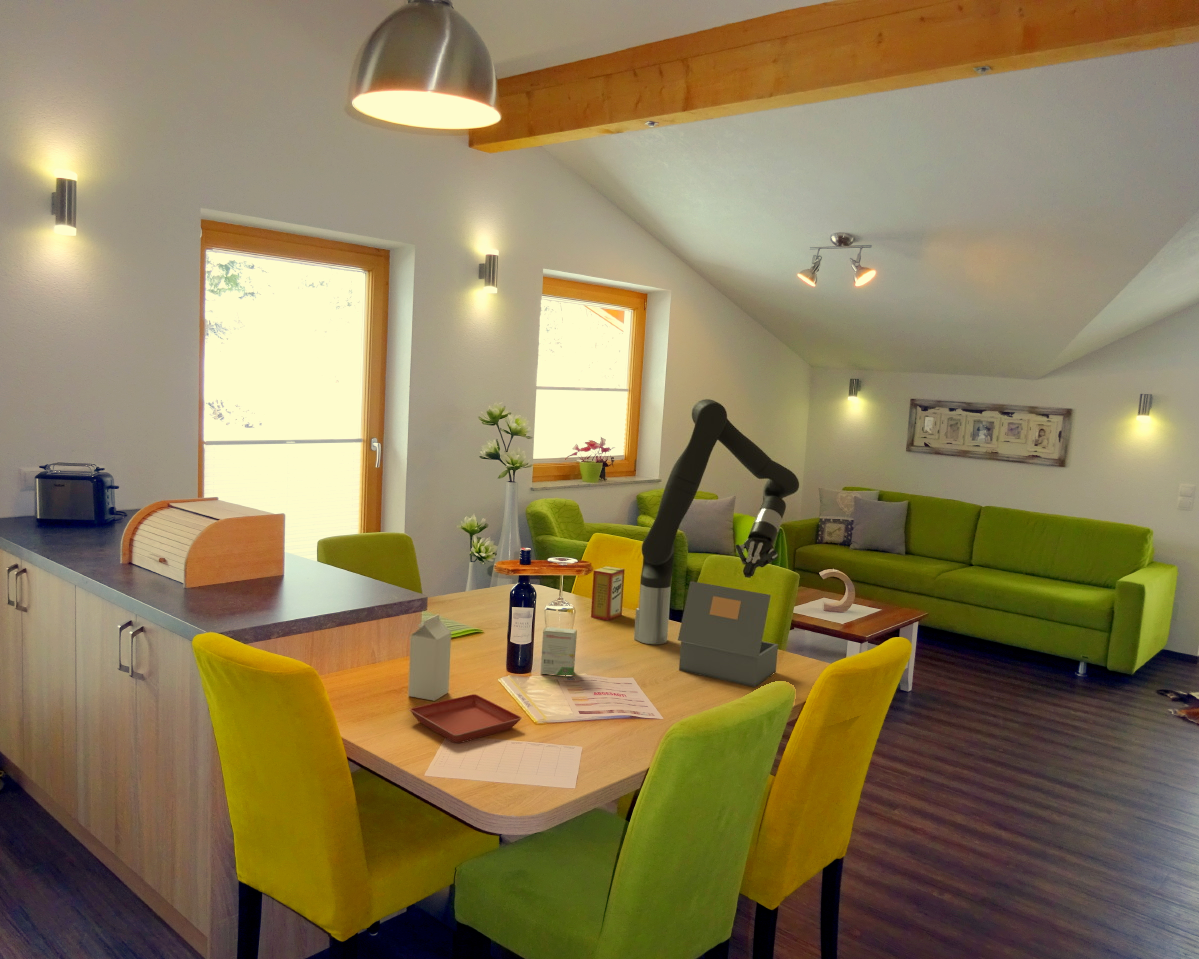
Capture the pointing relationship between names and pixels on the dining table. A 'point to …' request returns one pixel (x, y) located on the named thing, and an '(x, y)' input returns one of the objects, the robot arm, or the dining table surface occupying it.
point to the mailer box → (729, 663)
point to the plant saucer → (465, 718)
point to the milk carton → (429, 660)
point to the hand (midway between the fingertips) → (747, 575)
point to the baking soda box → (607, 593)
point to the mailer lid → (724, 618)
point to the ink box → (558, 651)
